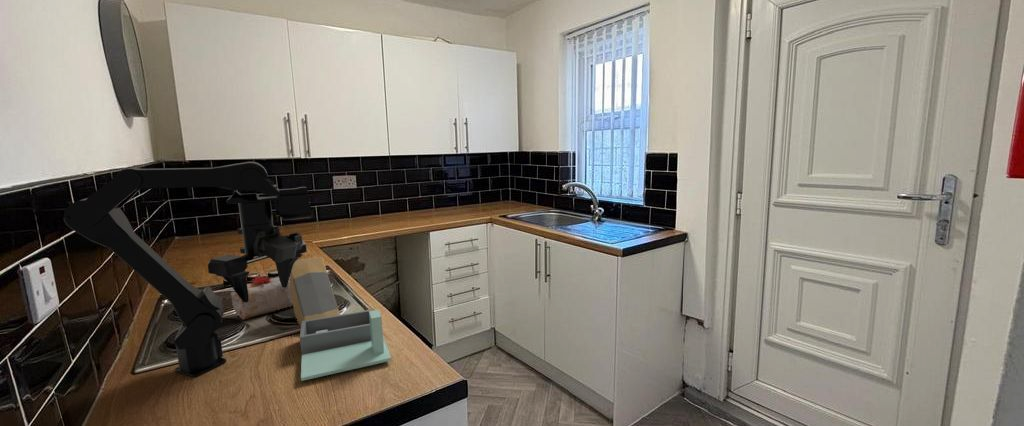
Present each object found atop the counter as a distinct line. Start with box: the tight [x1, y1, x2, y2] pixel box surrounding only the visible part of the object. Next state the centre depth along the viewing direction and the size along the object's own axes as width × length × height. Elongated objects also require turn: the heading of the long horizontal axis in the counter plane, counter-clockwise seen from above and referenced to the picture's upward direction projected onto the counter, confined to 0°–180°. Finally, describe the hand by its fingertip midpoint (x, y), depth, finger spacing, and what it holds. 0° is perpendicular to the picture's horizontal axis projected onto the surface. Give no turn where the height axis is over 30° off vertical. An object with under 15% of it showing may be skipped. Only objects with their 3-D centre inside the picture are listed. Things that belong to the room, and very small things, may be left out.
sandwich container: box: [289, 256, 341, 327], centre depth 107 cm, size 9×15×15 cm, turn 38°
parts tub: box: [299, 308, 376, 356], centre depth 97 cm, size 16×9×4 cm, turn 113°
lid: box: [300, 309, 392, 382], centre depth 87 cm, size 17×10×10 cm, turn 115°
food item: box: [230, 274, 293, 321], centre depth 114 cm, size 14×8×10 cm, turn 133°
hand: (266, 294), depth 91 cm, fingers open, 9 cm apart
